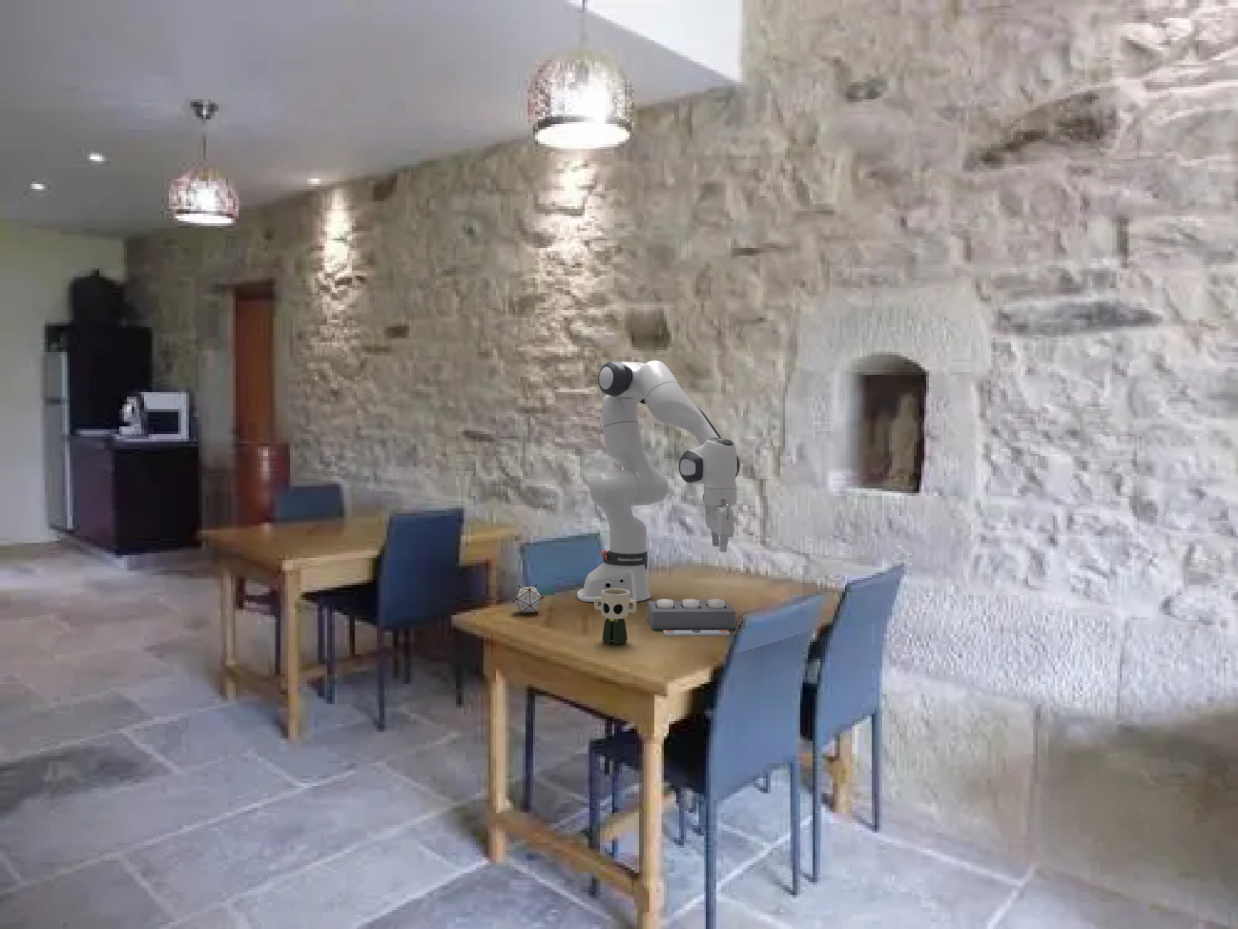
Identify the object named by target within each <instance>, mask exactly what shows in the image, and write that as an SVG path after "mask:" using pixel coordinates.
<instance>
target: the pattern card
mask: <svg viewBox="0 0 1238 929" xmlns="http://www.w3.org/2000/svg"><path fill="white" fill-rule="evenodd" d="M662 631H663V632H662V633H663V635H664V636H665V637H666V636H667V637H668V636H670V637H671V636H672V637H673V636H680V637H681V636H730V634H731V633H730V630H662Z"/></svg>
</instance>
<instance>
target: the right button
mask: <svg viewBox="0 0 1238 929" xmlns="http://www.w3.org/2000/svg"><path fill="white" fill-rule="evenodd" d="M707 601H708V608H724V603H725V601H726V600H724V599H721V598H710V599H708V600H707Z"/></svg>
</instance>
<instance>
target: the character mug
mask: <svg viewBox="0 0 1238 929" xmlns="http://www.w3.org/2000/svg"><path fill="white" fill-rule="evenodd" d="M598 601H601V602H600V605H599V602H598ZM637 602H638V601H637ZM637 602H636V600H630V592H629V591H628V590H625V589H605V590H602V593H601V597H595V599H594V602H593V603H594V610H597V611H600V614H601V617H603V618H605V620H604V624H603V630H602V638H601V640H602V641H603V642H604V643H607V644H610V643H611V642H612V643H613V645H614V644H615V645H616V644H617V645H618V644H619V645H620V644H624V643H626V641H627V640H628V635H627V634H628V633H627V625H626V618H628V617H629V614H630V613H632V614H636V613H637V604H638V603H637ZM630 604H632V608H630Z"/></svg>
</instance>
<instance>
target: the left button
mask: <svg viewBox="0 0 1238 929" xmlns="http://www.w3.org/2000/svg"><path fill="white" fill-rule="evenodd" d="M656 601H657V609H673V601H674V600H673V599H669V598H661V599H657V600H656Z"/></svg>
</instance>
